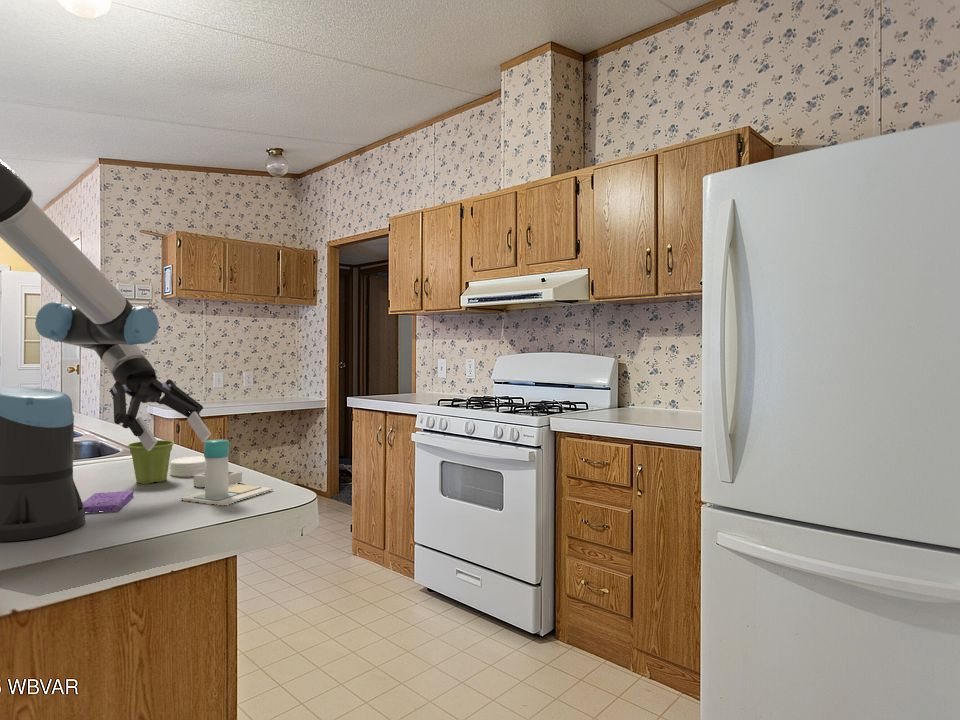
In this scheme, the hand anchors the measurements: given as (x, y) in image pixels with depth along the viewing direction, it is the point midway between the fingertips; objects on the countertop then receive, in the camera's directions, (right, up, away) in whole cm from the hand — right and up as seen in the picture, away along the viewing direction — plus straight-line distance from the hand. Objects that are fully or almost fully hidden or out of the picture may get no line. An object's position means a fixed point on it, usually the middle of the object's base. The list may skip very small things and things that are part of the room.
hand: (181, 442), depth 129 cm
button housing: (+4, -11, +10) cm, 15 cm away
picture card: (+10, -11, 0) cm, 15 cm away
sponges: (-11, -12, -8) cm, 18 cm away
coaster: (-8, -11, +23) cm, 27 cm away
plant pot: (-13, -11, +13) cm, 21 cm away
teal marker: (+9, -10, -3) cm, 14 cm away
